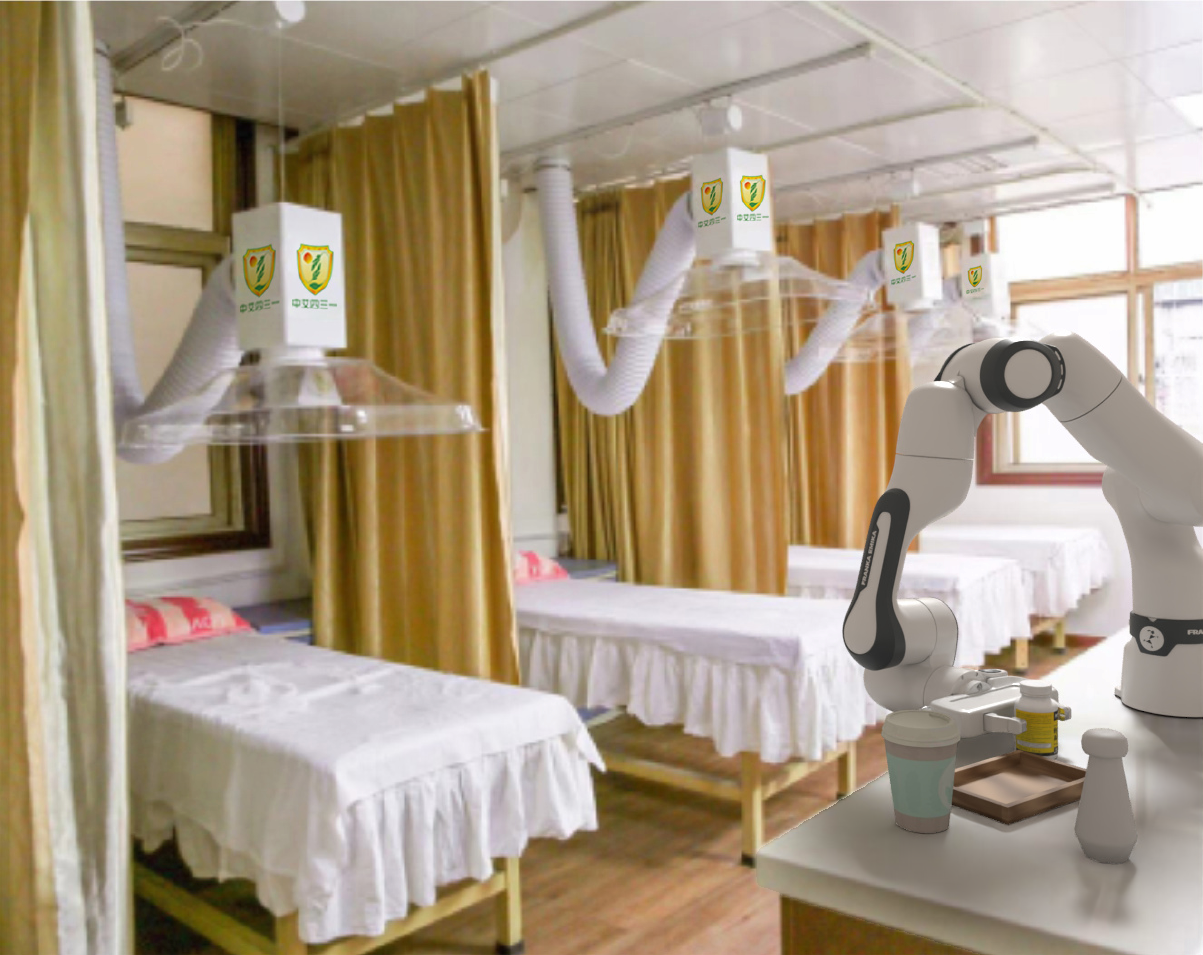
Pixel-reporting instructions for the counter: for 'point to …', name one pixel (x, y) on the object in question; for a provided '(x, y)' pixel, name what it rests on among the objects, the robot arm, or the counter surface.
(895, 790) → the coffee cup
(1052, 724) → the supplement bottle
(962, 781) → the tray
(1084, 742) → the salt shaker
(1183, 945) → the counter surface
